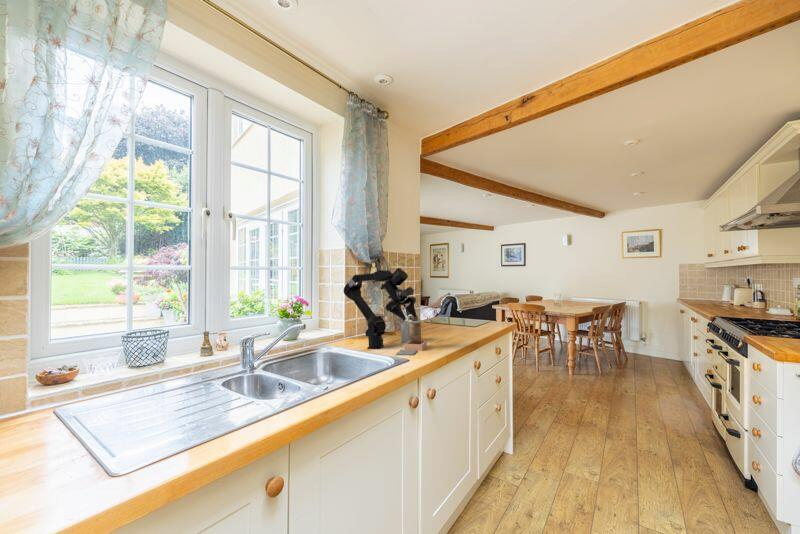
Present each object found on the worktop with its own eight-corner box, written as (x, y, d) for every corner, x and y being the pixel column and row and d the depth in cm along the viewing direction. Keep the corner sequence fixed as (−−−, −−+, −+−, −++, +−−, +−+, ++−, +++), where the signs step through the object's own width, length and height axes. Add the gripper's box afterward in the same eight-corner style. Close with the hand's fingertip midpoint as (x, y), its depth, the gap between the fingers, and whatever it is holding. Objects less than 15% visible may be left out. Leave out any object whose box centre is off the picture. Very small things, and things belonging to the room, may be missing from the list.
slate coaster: (396, 354, 154) (396, 353, 154) (400, 350, 162) (400, 349, 162) (413, 355, 152) (413, 353, 152) (417, 351, 160) (416, 349, 160)
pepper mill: (408, 349, 164) (407, 316, 164) (412, 347, 169) (410, 315, 170) (419, 350, 162) (418, 316, 162) (423, 347, 167) (421, 315, 168)
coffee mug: (414, 344, 175) (413, 325, 176) (398, 343, 181) (397, 324, 181) (426, 339, 187) (425, 321, 187) (410, 338, 192) (410, 320, 192)
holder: (404, 350, 163) (404, 344, 163) (410, 346, 171) (409, 340, 171) (422, 350, 160) (421, 344, 160) (426, 346, 168) (426, 340, 168)
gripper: (392, 282, 152) (411, 311, 147) (414, 280, 168) (432, 306, 162) (377, 296, 157) (395, 324, 152) (400, 293, 173) (416, 318, 167)
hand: (410, 318), depth 158 cm, fingers open, 9 cm apart
